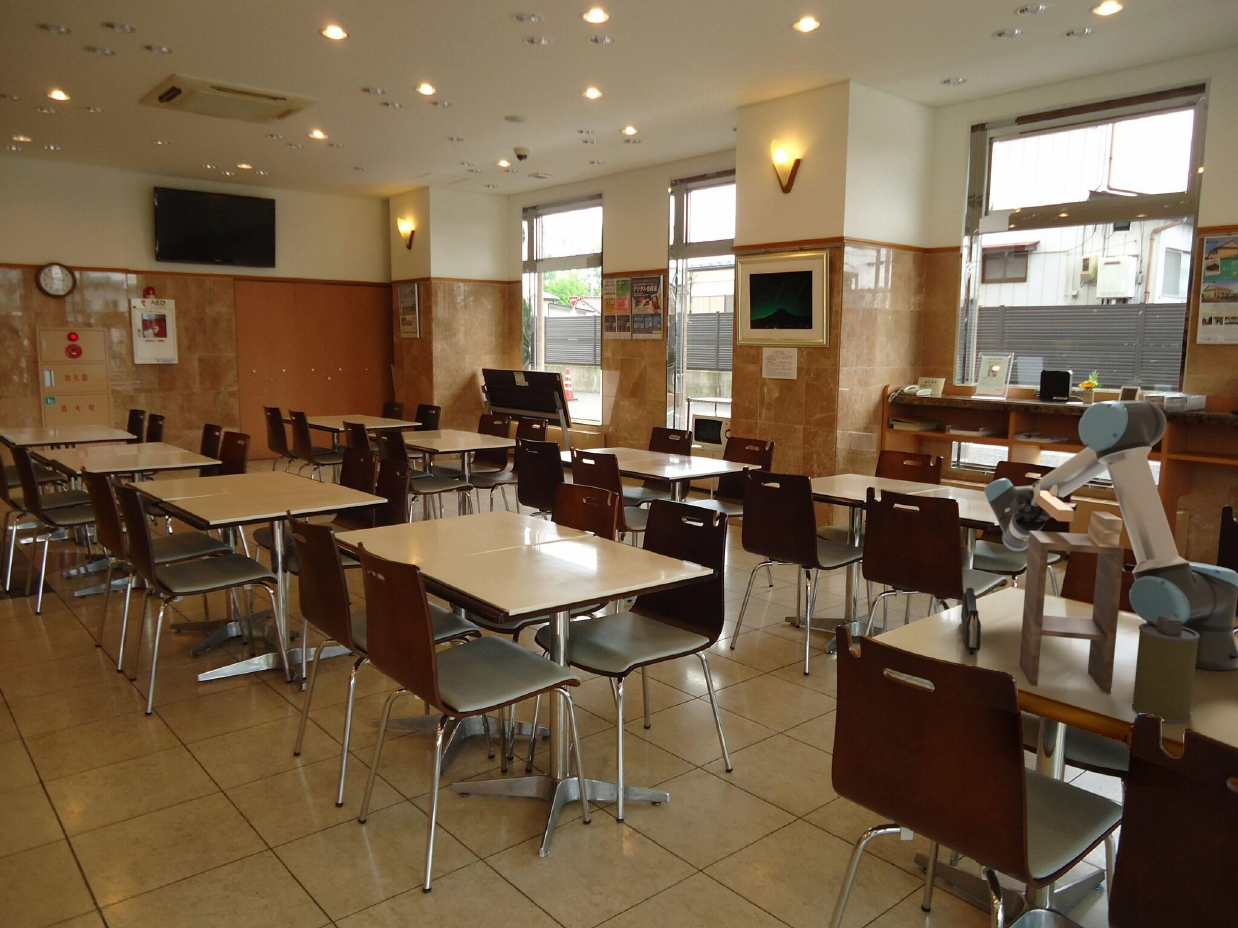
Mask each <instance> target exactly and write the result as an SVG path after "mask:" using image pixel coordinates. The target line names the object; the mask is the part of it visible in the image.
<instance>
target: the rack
mask: <svg viewBox="0 0 1238 928" xmlns="http://www.w3.org/2000/svg"><path fill="white" fill-rule="evenodd" d="M1122 529H1123V518H1120V517H1118V516H1116V515H1114V514H1112V513H1111V512H1109V511H1096V510H1095V511H1093V510H1092V511H1091V512H1090V523H1088V527H1087V533H1078V532H1077V533H1073V532H1057V531H1041V530H1040V531H1029V544H1028V548H1027V558H1026V571H1025V572H1026V573H1025V583H1024V584H1025V585H1024V586H1025V587H1024V599H1023V610H1022V611H1023V612H1022V613H1023V614H1022V622H1021V623H1022V624H1021V637H1020V651H1019V652H1020V653H1019V664H1018V665H1019V667H1020V670H1021V672H1022V674H1023V675H1024V677H1025V680H1026V681H1027V683H1028V685H1029V687H1038V685H1039V683H1038V682H1039V672H1040V671H1039V670H1040V659H1041V657H1040V656H1041V647H1042V646H1041V645H1042V636H1044V637H1055V638H1065V639H1066V638H1067V639H1078V640H1089V642H1090V643H1089V651H1088V652H1089V653H1088V654H1089V655H1088V664H1087V673H1088V674H1089V676H1090V677H1091V678H1092V680H1093V681H1094V683H1095V684H1096V686H1097V687H1098V689H1099V690H1100V691H1101V692H1102V693H1103V694H1107V695H1108V694H1109V695H1111V694H1112V685H1113V676H1114V675H1113V673H1114V665H1115V652H1116V651H1115V650H1116V643H1117V630H1118V622H1119V621H1118V619H1119V610H1120V609H1119V608H1120V598H1121V597H1120V596H1121V588H1122V578H1123V565H1124V555H1125V553H1124V552H1125V546H1122V545H1121V544H1120V536H1121V534H1122ZM1049 551H1060V552H1062V551H1063V552H1075V553H1076V552H1078V553H1089V554H1090V553H1091V554H1097V559H1096V560H1097V561H1096V573H1095V574H1096V575H1095V585H1094V595H1093V608H1092V617H1091V619H1090V618H1081V617H1069V616H1057V615H1056V616H1055V615H1045V614H1044V610H1045V609H1044V608H1045V597H1046V583H1047V582H1046V581H1047V571H1048V570H1047V569H1048V560H1049Z"/></svg>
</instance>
